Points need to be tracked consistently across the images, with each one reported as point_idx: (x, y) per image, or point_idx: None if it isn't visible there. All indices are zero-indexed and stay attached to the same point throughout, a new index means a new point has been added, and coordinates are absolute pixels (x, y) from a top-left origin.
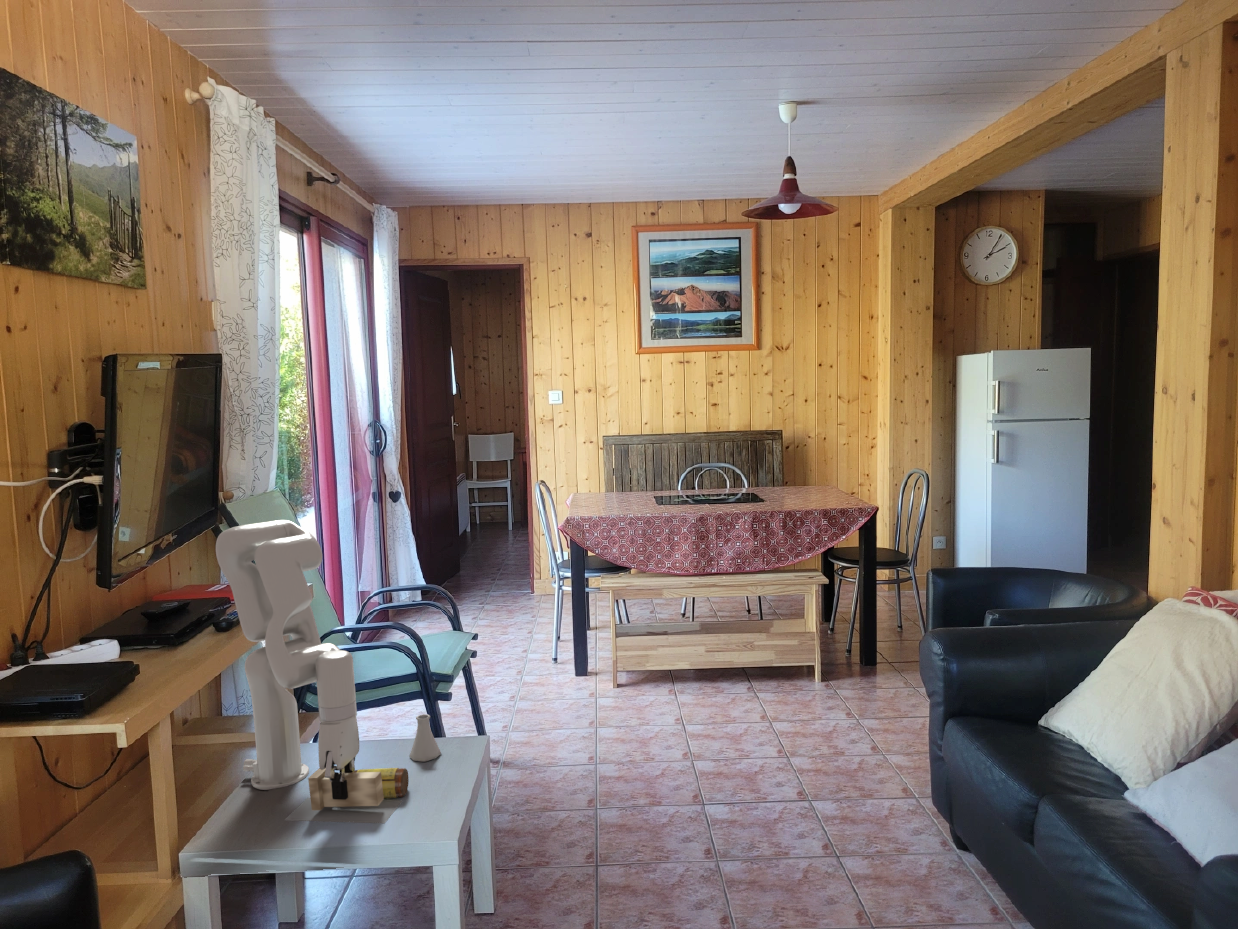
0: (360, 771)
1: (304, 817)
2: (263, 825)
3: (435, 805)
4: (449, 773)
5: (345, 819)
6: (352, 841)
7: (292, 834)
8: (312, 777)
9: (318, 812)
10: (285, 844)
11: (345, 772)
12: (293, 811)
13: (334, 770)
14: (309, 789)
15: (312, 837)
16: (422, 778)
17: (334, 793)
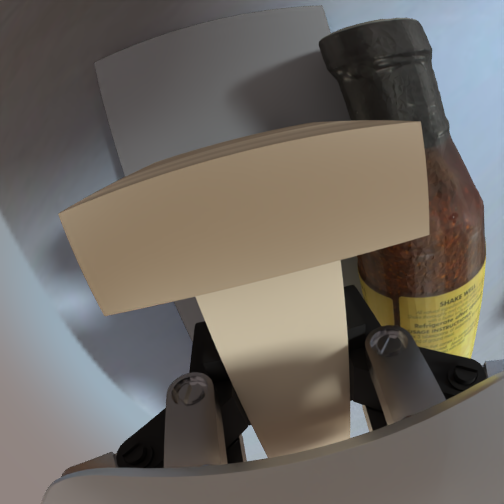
0: (454, 305)
1: (141, 129)
2: (67, 10)
3: (354, 419)
4: (491, 347)
5: (198, 311)
6: (126, 378)
7: (49, 177)
8: (86, 258)
9: None
10: (8, 211)
11: (351, 375)
12: (175, 31)
13: (224, 453)
14: (111, 184)
15: (71, 264)
16: (486, 315)
17: (195, 333)
